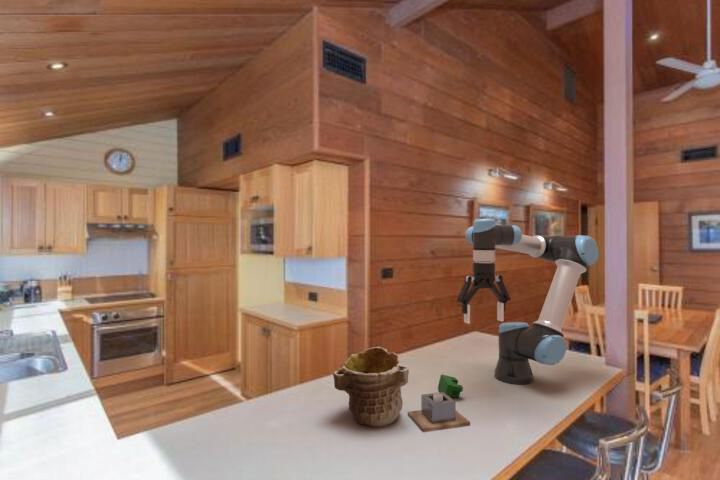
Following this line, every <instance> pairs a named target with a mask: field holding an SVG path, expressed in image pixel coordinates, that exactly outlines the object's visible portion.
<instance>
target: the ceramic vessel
mask: <svg viewBox="0 0 720 480" xmlns="http://www.w3.org/2000/svg"><path fill="white" fill-rule="evenodd" d="M409 372H410V368H409V367H408V366H405V365H402V364H401V363H400V360H399V355H398V354H396V353H395V352H388V349H387V348H383V347H382V346H373V347H370V348H368V349H365V350H364V351H362V350H361V351H360V352H358V353H353V354H350V356H349V357H348V358H347V359H346V360H345V361H344V362H343V363H342V365H341V366H340V368H339V369H338V370H333V373H332V376H333V380H334V381H333V382H334V383H333V385H334V389H335V390H337V391H342V392H345V393H347V395H348V397H349V398H348V410H349V411H350V413H351V414H352V416H353V418H354V420H355V422H357V423H358V424H361V425H365V426H370V427H375V428H381V427H386V426H389V425H391V424H392V423H393V422H394V421H395V420H396V419H397V418H398V416H399V415H400V414H401V411H402V409H403V405H404V404H403V403H404V402H403V397H402V387H404V386H406V385H407V384H408V383H409Z"/></svg>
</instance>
